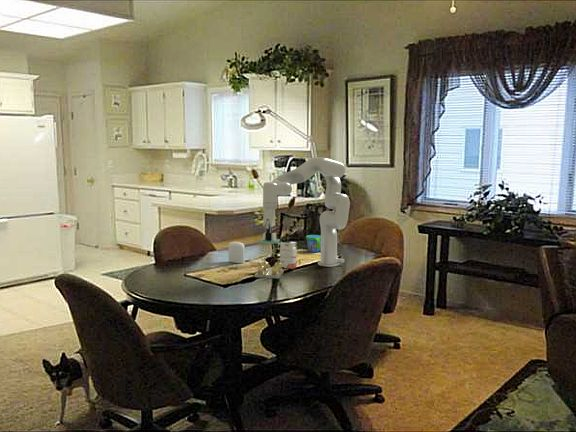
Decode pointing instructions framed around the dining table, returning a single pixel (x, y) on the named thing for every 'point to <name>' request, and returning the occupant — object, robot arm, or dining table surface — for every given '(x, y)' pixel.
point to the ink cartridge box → (288, 255)
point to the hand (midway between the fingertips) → (269, 239)
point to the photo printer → (236, 252)
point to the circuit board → (274, 240)
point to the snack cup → (313, 243)
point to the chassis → (269, 270)
